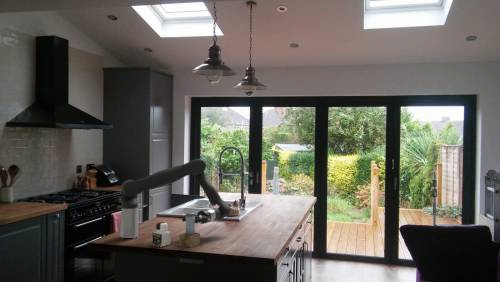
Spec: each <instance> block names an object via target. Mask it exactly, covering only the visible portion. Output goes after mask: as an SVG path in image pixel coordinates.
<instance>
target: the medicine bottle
mask: <svg viewBox="0 0 500 282" xmlns="http://www.w3.org/2000/svg"><path fill="white" fill-rule="evenodd" d="M155 227H156V228H155V231H152V241H151V242H152V243H151V244H153V245H152V246H155V245H157V246H156V247H159V246H160V248H163V247H166V245H167V246H169V245H170V246H171V243H172V231H168V223H167V222H164V221H159V222H157V223H156V225H155ZM162 246H163V247H162Z"/></svg>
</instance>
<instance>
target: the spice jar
mask: <svg viewBox="0 0 500 282" xmlns="http://www.w3.org/2000/svg"><path fill="white" fill-rule="evenodd" d="M195 214H196V212H185V215H186V221H185V232H184V233H185V234H186V235H194V234H195V233H196V232H195V231H196V229H195V228H196V223H195Z"/></svg>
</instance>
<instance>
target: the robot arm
mask: <svg viewBox="0 0 500 282" xmlns="http://www.w3.org/2000/svg"><path fill="white" fill-rule="evenodd" d="M206 168H207V163H206V161H205V160H204V159H201V158H195V159H193V160H191V161H188V162H186V163H183V164H181V165H175V166H172V167H169V168H165V169H161V170H159V171H157V172H155V173H153V174H151V175H149V176H147V177H144V178H140V179H136V180H133V179H127V180H125V181H123V182H122V184H121V188H120V189H121V190H120V191H121V192H120V201H121V220H120V221H119V238H121V237H122V238H121V239H123V238H133V239H137V238H138V236H139V235H138V234H139V200H138V195H140V194H141V193H145V192H147V191H150V190H153V189H156V188H161V187H164V186H168V185H171V184H174V183H176V182H178V181H179V180H181V179H183V178H185V177H187V176H191V175H192V176H193V177H194V179H195V180H196V182H198V185H200V187H201V188H202V189H201V190H203V193H204V194H205V196H206V198H207V199H208V201H209V203H210V204H211V206H215V205H218V207H217V208H216V207H214V208H213V207H212V208H208V209H207V208H206V209H202V210H199V211H198V212H197V213H195V224H200V225H201V224H202V225H204V224H208V223H210V222H213V221H220V220H222V219H224V218H226V217H228V216H229V215H230V214H231V207H230V206H229V205H228V204H227V203H226V202H225V201H224V199H223V198H221V195H220V194H219V192H218V190H217V189H216V187H215V186H214V185H213V184H212V183H211V181H210V179H209V178H208V177H207V175H206V172H205V171H206ZM181 221H182V222H186V214H184V216H183V217H182V218H181ZM136 237H137V238H136Z"/></svg>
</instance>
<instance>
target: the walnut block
mask: <svg viewBox="0 0 500 282" xmlns="http://www.w3.org/2000/svg"><path fill="white" fill-rule="evenodd" d="M200 245H201V233H198V232H195V234H194V235H186V234H185V232H183V233H179V246H180V247H186V248H194V247H196V246H200Z"/></svg>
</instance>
